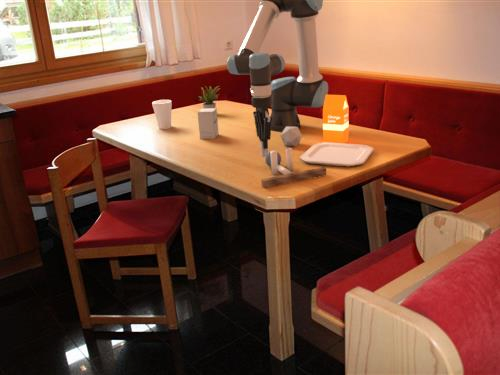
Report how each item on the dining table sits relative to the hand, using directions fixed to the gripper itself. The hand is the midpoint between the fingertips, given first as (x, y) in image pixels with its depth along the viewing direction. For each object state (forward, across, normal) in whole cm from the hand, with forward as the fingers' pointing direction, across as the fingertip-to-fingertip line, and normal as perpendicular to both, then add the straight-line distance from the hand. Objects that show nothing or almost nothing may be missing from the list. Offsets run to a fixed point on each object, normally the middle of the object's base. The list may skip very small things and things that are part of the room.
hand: (264, 155), depth 204 cm
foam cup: (+2, -76, -22) cm, 79 cm away
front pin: (+1, +14, 0) cm, 14 cm away
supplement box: (+2, -46, -8) cm, 47 cm away
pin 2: (+2, +16, +3) cm, 16 cm away
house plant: (+2, -87, +7) cm, 87 cm away
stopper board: (+2, +26, 0) cm, 26 cm away
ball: (-1, +9, 0) cm, 9 cm away
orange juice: (+2, -7, +36) cm, 37 cm away
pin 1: (+2, +16, -3) cm, 16 cm away
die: (+2, -13, +18) cm, 22 cm away
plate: (+3, +11, +26) cm, 28 cm away
